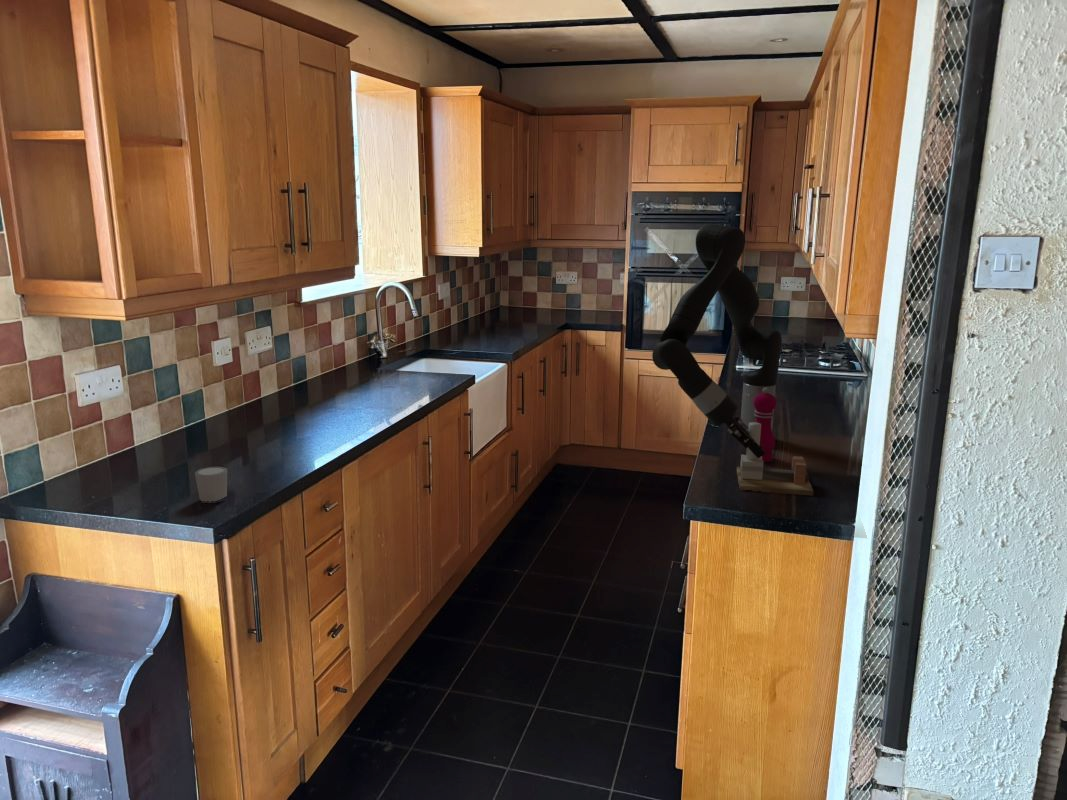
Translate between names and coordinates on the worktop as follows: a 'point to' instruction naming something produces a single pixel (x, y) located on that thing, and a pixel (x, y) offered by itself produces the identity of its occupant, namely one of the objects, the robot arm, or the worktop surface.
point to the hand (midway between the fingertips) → (761, 453)
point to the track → (780, 480)
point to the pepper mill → (765, 421)
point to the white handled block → (752, 456)
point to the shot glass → (211, 483)
